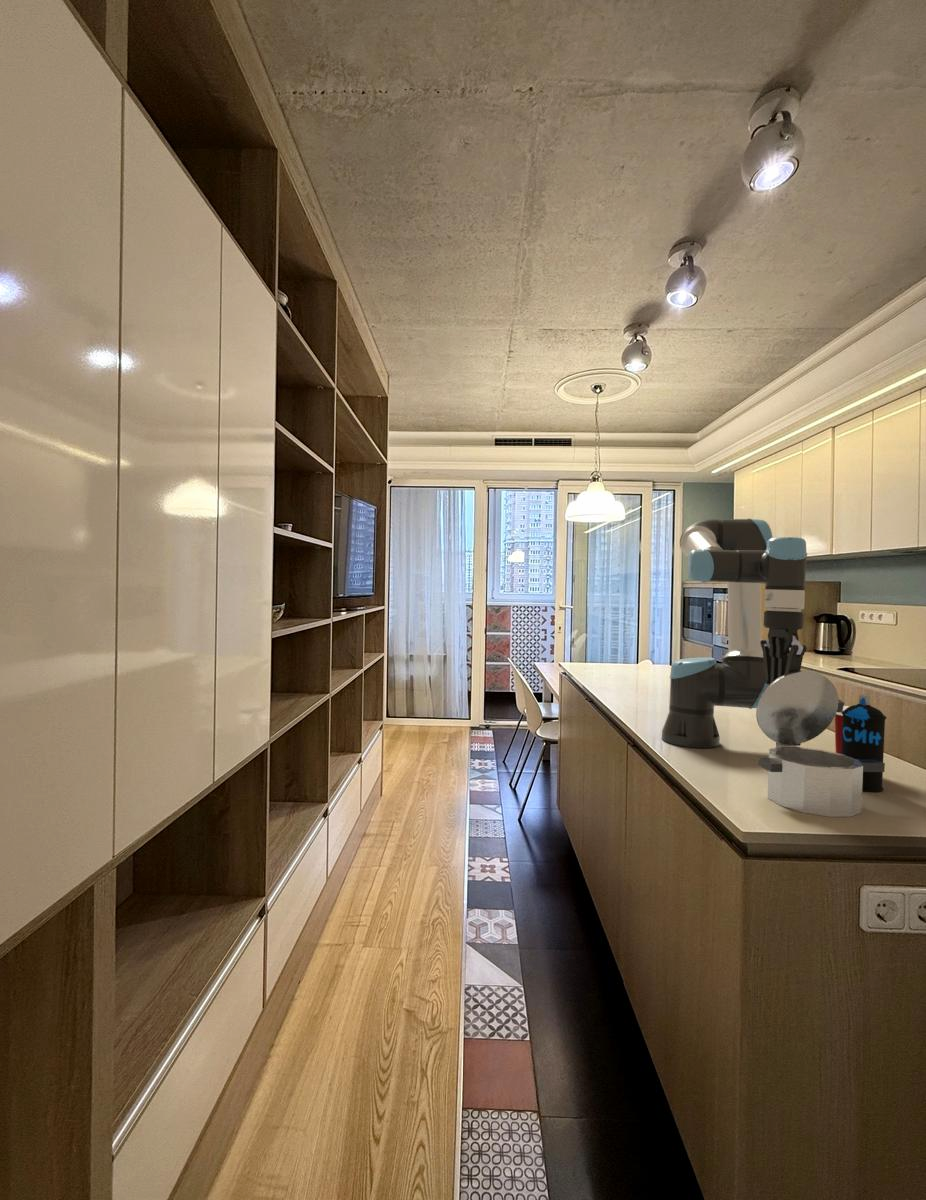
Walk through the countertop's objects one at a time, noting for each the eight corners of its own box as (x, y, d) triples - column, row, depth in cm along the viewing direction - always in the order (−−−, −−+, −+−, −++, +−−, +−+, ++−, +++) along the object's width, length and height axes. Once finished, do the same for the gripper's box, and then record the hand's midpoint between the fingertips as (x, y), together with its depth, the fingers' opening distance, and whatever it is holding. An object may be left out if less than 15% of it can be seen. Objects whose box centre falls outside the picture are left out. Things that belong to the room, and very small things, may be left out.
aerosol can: (844, 778, 139) (847, 690, 138) (887, 787, 133) (891, 696, 133) (834, 785, 133) (837, 694, 133) (878, 795, 127) (882, 700, 127)
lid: (750, 746, 129) (744, 739, 131) (835, 747, 130) (828, 740, 133) (768, 671, 123) (761, 666, 126) (856, 673, 125) (848, 667, 127)
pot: (738, 786, 130) (739, 744, 130) (844, 786, 132) (846, 745, 132) (788, 816, 113) (789, 768, 113) (910, 816, 115) (912, 769, 115)
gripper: (750, 608, 136) (746, 713, 136) (785, 610, 123) (780, 726, 123) (782, 609, 136) (778, 714, 137) (820, 611, 123) (815, 727, 124)
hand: (779, 720), depth 130 cm, fingers closed
